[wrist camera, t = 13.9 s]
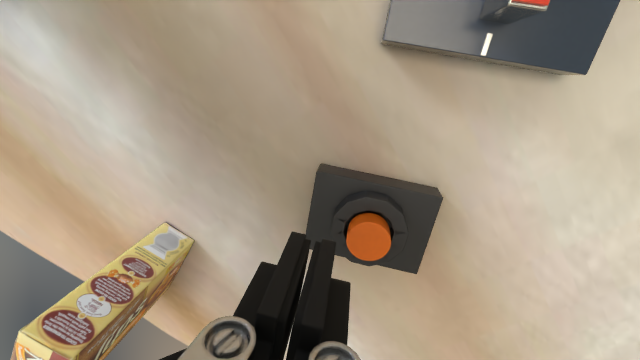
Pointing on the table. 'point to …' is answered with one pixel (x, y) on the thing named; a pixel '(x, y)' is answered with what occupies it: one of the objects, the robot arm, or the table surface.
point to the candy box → (106, 302)
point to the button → (368, 237)
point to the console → (503, 33)
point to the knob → (511, 10)
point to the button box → (379, 198)
